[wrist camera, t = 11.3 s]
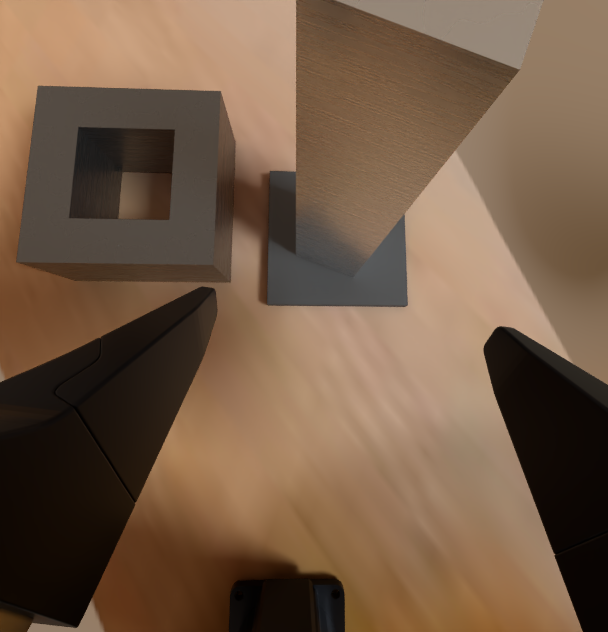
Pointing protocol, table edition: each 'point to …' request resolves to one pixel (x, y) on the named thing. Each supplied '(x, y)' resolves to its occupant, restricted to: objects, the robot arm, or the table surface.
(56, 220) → the socket block
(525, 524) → the table surface
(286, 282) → the rubber mat
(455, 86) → the steel peg
